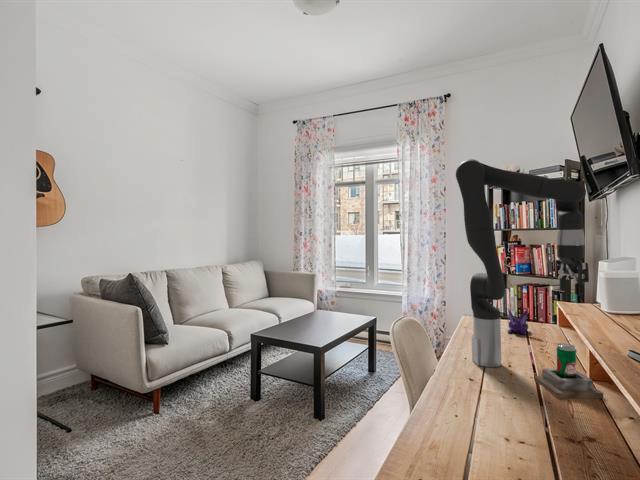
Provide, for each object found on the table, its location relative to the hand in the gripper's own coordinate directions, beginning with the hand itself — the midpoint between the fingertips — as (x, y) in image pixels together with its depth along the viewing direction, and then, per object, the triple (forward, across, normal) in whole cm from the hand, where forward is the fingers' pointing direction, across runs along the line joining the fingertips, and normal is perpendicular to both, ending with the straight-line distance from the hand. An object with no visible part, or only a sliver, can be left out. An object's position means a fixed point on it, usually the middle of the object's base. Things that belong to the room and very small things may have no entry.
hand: (571, 293), depth 123 cm
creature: (+28, -55, +7) cm, 63 cm away
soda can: (+27, +8, -7) cm, 29 cm away
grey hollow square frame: (+28, +8, -6) cm, 30 cm away
